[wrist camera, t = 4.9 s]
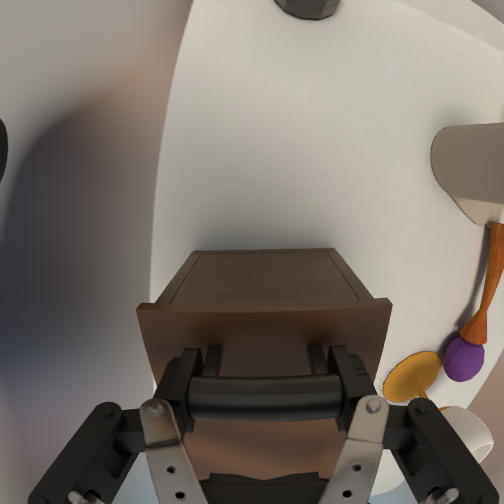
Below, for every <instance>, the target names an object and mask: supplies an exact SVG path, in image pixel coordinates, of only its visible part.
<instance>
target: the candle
mask: <svg viewBox="0 0 504 504" xmlns="http://www.w3.org/2000/svg"><path fill="white" fill-rule="evenodd" d="M431 163H432V168H433V172H434V175H435V177H436V179H437V181H438V183H439V184H440V186H441V187H442V188H443V189H444V190H445V191H446V192H447V193H448V194H449V195H450V196H451V197H452V199H453V200H454V201H455V203H456V204H457V205H458V206H459V207H460V209H461V210H462V211H463V212H464V214H465V215H466V216H467V217H469V218H470V219H471V220H472V221H473V222H474V223H475V224H478V225H484V224H486V226H487V228H488V229H489V230H491V229H492V221H493V222H498V220H499V218H500V216H501V213H502V210H503V204H504V123H492V124H477V125H464V126H454V127H447V128H444V129H443V130H441V131H440V132H439V133H438V134H437V136H436V137H435V140H434V142H433V145H432V151H431Z"/></svg>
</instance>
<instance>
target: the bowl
mask: <svg viewBox="0 0 504 504" xmlns="http://www.w3.org/2000/svg"><path fill="white" fill-rule="evenodd" d="M276 1H277V2H278V3H279V4H280V6H281V7H282V8H283V9H284V10H285V11H287V12H290V13H292V14H294V15H296V16H299V17H301V18H313V19H320V18H323V17H326V16H329V15H332V14H334V13H335V11H336V10H337V8H338V7H339V5H340V3H341V1H342V0H276Z"/></svg>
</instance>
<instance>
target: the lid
mask: <svg viewBox="0 0 504 504" xmlns="http://www.w3.org/2000/svg"><path fill="white" fill-rule="evenodd" d="M392 305H393V304H392V303H391V302H390V300H389V299H388V298H376V299H363V300H347V301H330V302H308V303H280V304H163V303H141V304H140V305H139V306H138V307H137V309H136V312H137V317H138V321H139V325H140V329H141V333H142V337H143V340H144V344H145V348H146V351H147V355H148V359H149V362H150V365H151V369H152V372H153V375H154V378H155V382H156V385H157V387H158V384H159V382H160V380H161V378H162V375H163V373H164V372H165V368H166V366H167V363H168V362H169V361H170V360H172V359H173V358H174V357H181V355H182V353H183V350H184V348H185V347H187V348H200V349H201V352H202V358H203V364H204V365H203V368H202V372H201V375H193V376H192V377H191V379H190V382H189V386H188V394H187V405H188V412H189V415H190V418H191V419H193V420H196V421H195V425H194V430H193V433H185V436H184V443H185V446H186V448H187V451H188V454H189V456H190V459H191V461H192V464H193V466H194V469H195V471H196V474H197V476H198V478H199V480H204V479H209V476H210V473H222V474H237V475H241V476H246V477H250V478H255V479H259V480H268V479H273V478H277V477H281V476H285V475H289V474H295V473H308V472H318V473H319V478H325V479H330V477H331V475H332V472H333V470H334V468H335V465H336V463H337V460H338V458H339V455H340V453H341V450H342V447H343V445H344V442H345V439H346V436H347V435H346V431H339V432H338V428H337V424H336V420H335V418H337V417H339V416H340V415H341V412H342V407H343V388H342V382H341V379H340V376H339V374H338V373H330V372H329V369H328V365H327V357H328V350H329V346H335V345H345V346H346V348H347V350H348V353H349V354H356V355H357V356H359V357H360V358H361V359H362V360H363V362H364V364H365V367H366V369H367V371H368V374H369V376H370V378H371V380H372V383H374V380H375V377H376V373H377V370H378V366H379V362H380V359H381V355H382V351H383V347H384V343H385V338H386V334H387V330H388V325H389V320H390V316H391V311H392Z"/></svg>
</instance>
